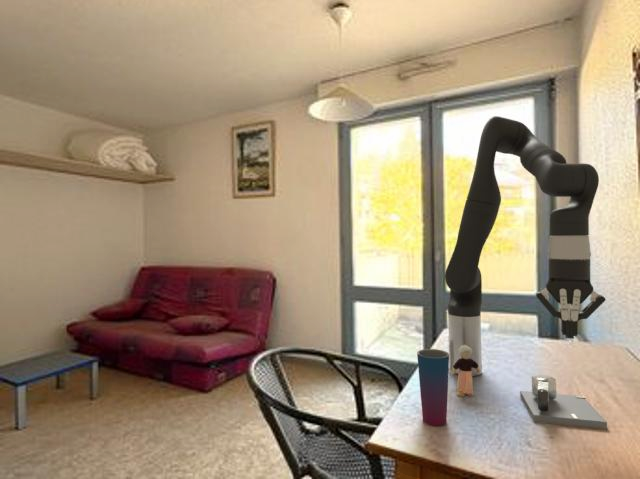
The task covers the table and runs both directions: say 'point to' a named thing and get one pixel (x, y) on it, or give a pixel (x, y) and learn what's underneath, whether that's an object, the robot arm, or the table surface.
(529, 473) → the table surface
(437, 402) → the cup
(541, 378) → the lever
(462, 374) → the grandmother figurine
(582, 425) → the base
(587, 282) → the robot arm
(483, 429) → the table surface
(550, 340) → the table surface
